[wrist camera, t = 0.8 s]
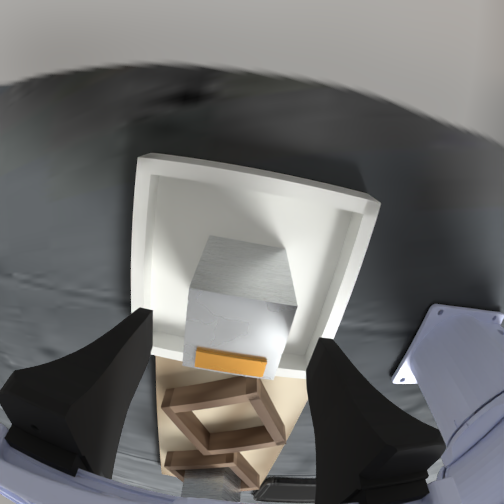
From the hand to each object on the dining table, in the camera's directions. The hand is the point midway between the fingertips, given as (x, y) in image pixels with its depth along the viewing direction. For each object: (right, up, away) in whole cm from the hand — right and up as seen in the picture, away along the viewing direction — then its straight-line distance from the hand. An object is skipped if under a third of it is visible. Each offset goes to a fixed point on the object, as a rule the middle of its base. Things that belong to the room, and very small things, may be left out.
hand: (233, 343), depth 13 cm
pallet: (-2, -14, +13) cm, 19 cm away
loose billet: (0, +2, +6) cm, 6 cm away
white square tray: (0, +3, +6) cm, 7 cm away
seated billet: (-3, -19, +15) cm, 24 cm away
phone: (+9, -29, +20) cm, 36 cm away
